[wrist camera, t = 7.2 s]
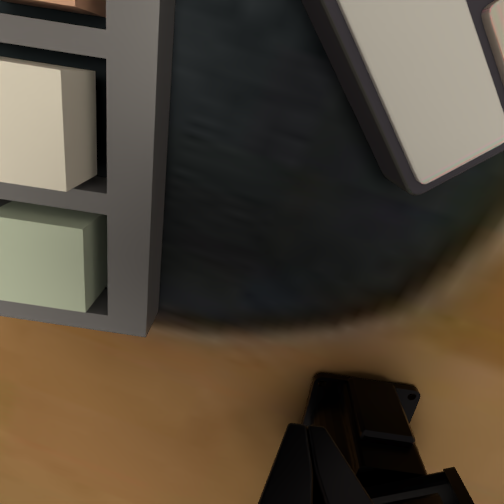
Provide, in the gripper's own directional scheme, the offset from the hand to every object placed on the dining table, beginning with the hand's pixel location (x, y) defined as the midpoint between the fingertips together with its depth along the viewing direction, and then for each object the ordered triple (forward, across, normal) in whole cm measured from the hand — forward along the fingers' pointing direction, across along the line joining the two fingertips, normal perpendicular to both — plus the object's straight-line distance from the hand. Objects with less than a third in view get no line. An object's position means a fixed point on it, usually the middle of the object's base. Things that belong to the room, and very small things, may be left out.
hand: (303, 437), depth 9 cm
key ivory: (+11, +11, -5) cm, 17 cm away
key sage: (+13, +12, +1) cm, 17 cm away
